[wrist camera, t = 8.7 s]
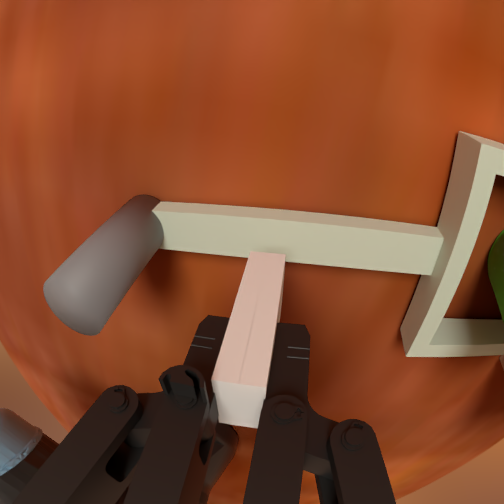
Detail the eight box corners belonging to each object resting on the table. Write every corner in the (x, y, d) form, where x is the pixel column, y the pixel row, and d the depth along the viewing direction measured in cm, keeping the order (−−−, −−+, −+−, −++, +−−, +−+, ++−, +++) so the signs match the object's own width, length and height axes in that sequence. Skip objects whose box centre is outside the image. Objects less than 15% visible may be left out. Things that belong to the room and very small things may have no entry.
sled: (144, 299, 22) (94, 386, 15) (109, 110, 15) (-3, 158, 8) (526, 330, 18) (557, 406, 11) (592, 181, 10) (661, 244, 4)
